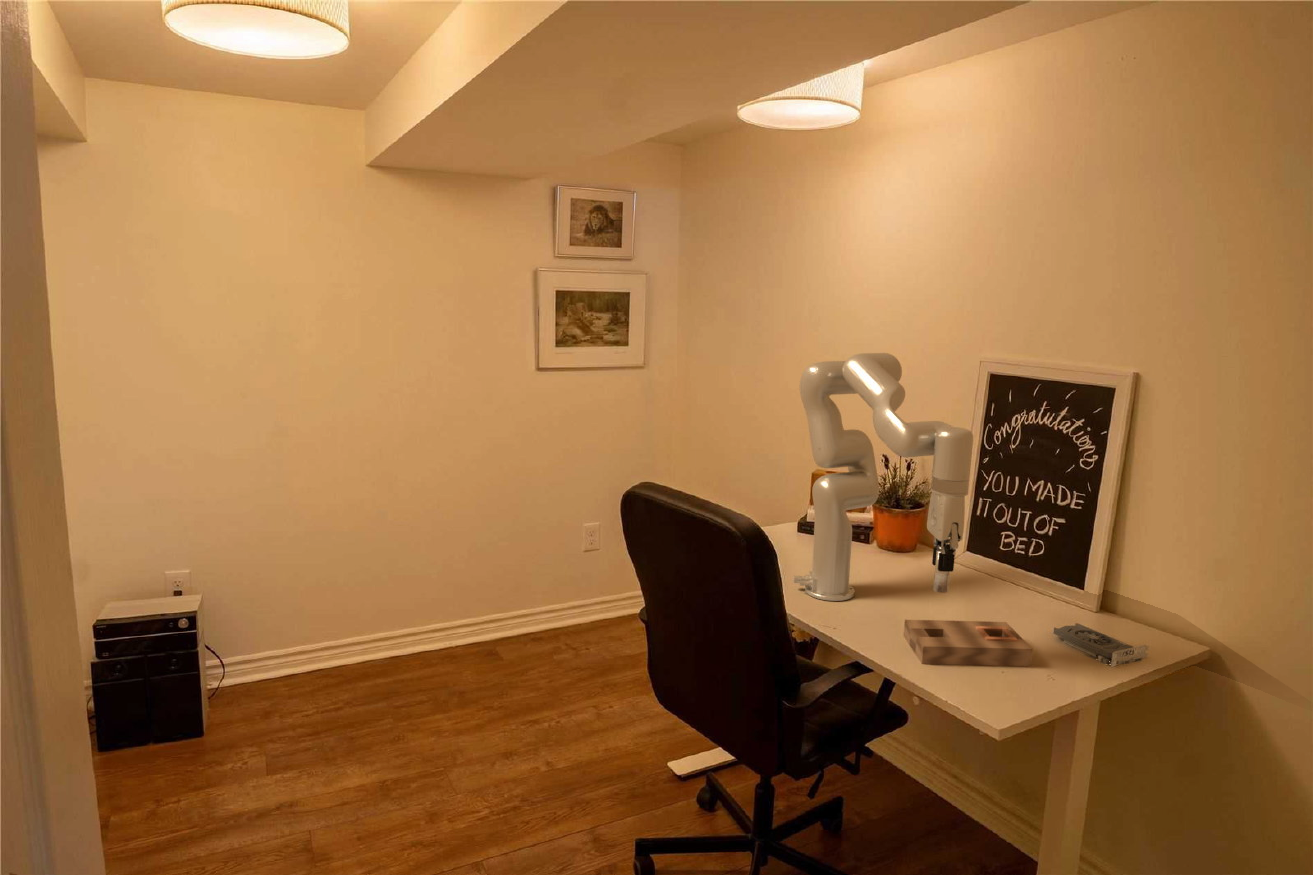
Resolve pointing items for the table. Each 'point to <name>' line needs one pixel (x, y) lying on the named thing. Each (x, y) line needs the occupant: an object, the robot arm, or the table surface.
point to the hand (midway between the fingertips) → (942, 567)
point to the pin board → (967, 643)
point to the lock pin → (940, 576)
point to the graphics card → (1100, 645)
